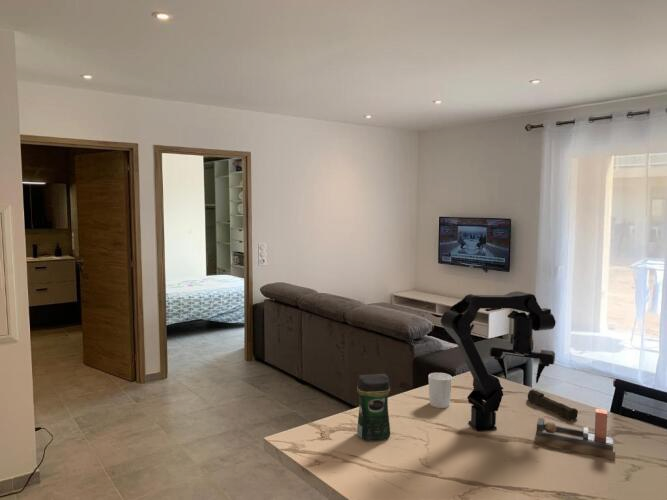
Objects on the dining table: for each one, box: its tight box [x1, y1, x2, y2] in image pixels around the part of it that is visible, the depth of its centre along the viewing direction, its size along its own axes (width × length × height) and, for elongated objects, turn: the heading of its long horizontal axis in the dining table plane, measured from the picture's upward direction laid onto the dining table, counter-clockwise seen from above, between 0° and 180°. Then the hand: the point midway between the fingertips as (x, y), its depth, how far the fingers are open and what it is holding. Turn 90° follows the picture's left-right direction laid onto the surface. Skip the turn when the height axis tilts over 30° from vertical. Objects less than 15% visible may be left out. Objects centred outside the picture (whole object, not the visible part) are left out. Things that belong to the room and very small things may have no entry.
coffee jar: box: [356, 373, 391, 442], centre depth 145 cm, size 10×8×19 cm
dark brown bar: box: [527, 389, 579, 422], centre depth 166 cm, size 19×4×5 cm, turn 23°
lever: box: [583, 408, 613, 445], centre depth 138 cm, size 7×4×9 cm, turn 62°
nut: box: [545, 421, 557, 433], centre depth 143 cm, size 3×3×3 cm
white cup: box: [428, 372, 453, 409], centre depth 170 cm, size 8×8×10 cm
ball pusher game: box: [534, 417, 616, 460], centre depth 141 cm, size 20×9×5 cm, turn 62°
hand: (521, 380), depth 156 cm, fingers open, 9 cm apart
